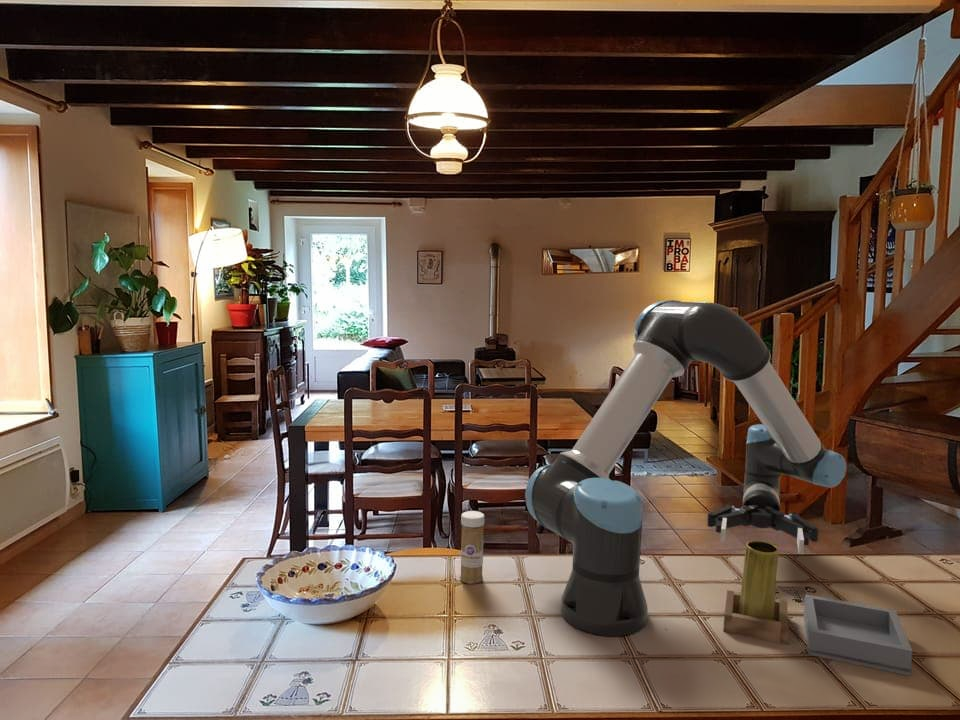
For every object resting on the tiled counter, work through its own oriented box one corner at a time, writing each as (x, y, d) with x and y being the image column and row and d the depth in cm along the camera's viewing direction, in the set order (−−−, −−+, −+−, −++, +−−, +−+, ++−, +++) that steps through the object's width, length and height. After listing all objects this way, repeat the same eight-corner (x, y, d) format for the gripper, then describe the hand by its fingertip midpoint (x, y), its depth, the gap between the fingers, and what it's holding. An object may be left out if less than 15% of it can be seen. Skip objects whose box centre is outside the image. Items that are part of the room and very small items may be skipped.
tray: (808, 654, 107) (810, 631, 107) (803, 615, 120) (805, 594, 120) (909, 675, 102) (912, 651, 102) (893, 632, 115) (895, 610, 114)
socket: (723, 631, 114) (724, 614, 114) (726, 605, 123) (727, 590, 123) (787, 644, 110) (788, 627, 110) (785, 616, 120) (786, 601, 119)
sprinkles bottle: (460, 585, 130) (461, 518, 128) (459, 574, 134) (460, 510, 133) (484, 584, 130) (485, 518, 129) (482, 574, 135) (483, 509, 133)
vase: (776, 620, 118) (783, 543, 116) (772, 636, 113) (779, 557, 111) (739, 610, 121) (746, 536, 119) (734, 626, 116) (740, 548, 114)
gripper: (824, 531, 140) (834, 572, 121) (700, 514, 150) (691, 549, 131) (826, 497, 140) (837, 532, 120) (701, 482, 149) (692, 512, 130)
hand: (761, 541), depth 125 cm, fingers open, 13 cm apart
